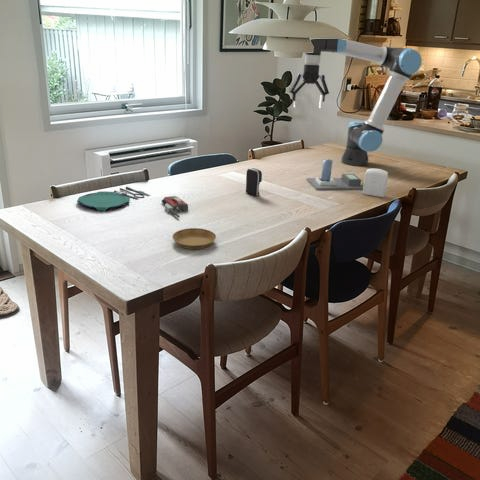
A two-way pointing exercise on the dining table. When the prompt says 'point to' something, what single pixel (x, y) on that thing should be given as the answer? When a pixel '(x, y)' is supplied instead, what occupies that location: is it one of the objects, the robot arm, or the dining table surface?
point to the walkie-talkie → (174, 205)
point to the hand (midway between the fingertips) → (307, 107)
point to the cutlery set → (107, 199)
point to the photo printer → (375, 182)
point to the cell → (326, 170)
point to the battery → (253, 181)
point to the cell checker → (337, 183)
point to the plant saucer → (194, 238)
